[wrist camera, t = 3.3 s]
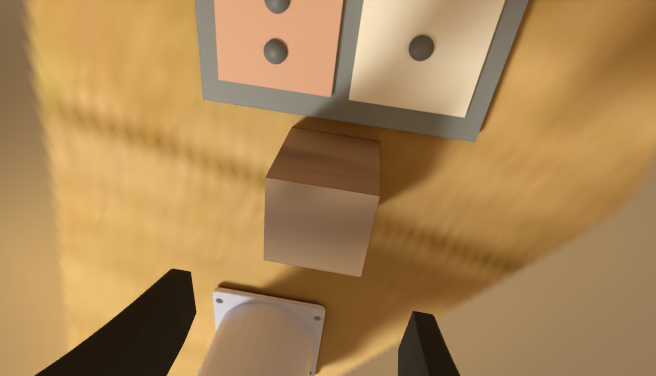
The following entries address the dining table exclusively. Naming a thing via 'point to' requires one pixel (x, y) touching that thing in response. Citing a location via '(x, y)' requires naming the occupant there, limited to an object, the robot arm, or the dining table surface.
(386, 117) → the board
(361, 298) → the dining table surface
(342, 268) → the walnut block
